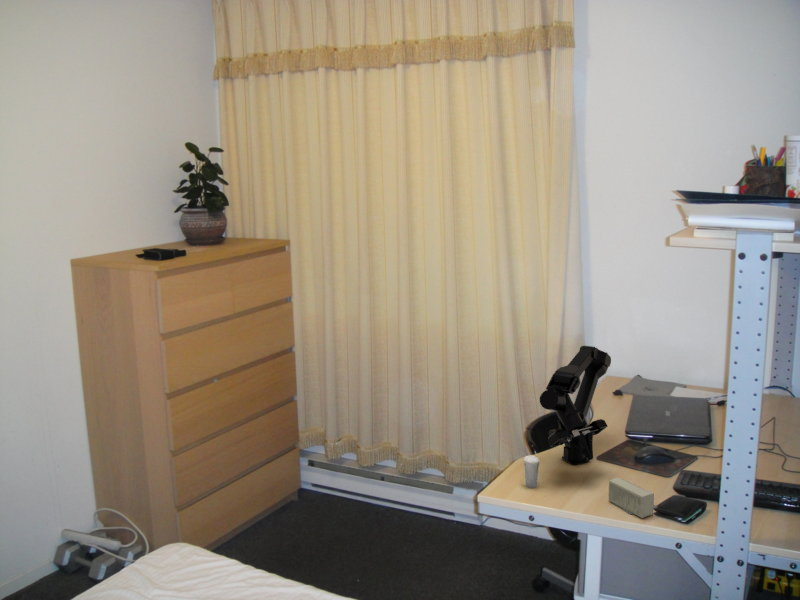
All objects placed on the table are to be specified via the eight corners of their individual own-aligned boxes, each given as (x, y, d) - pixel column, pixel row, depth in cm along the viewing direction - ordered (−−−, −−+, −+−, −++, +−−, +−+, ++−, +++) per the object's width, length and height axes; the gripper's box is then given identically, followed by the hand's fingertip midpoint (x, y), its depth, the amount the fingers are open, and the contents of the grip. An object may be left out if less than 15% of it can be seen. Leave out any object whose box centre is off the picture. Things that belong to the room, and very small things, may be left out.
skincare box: (618, 496, 196) (653, 514, 185) (607, 500, 194) (641, 519, 183) (619, 475, 195) (654, 492, 184) (608, 479, 193) (643, 497, 182)
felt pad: (637, 495, 197) (637, 494, 197) (657, 507, 189) (657, 506, 189) (611, 502, 194) (611, 501, 193) (630, 514, 186) (630, 513, 186)
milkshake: (542, 489, 202) (542, 457, 201) (523, 488, 203) (523, 456, 202) (542, 483, 207) (542, 451, 205) (523, 482, 208) (523, 450, 206)
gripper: (576, 417, 219) (600, 463, 211) (529, 429, 210) (552, 477, 203) (595, 400, 210) (621, 448, 203) (546, 412, 202) (571, 462, 194)
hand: (591, 459), depth 201 cm, fingers closed
